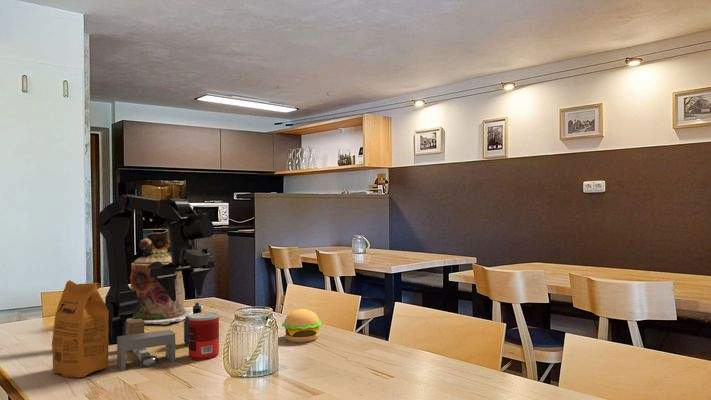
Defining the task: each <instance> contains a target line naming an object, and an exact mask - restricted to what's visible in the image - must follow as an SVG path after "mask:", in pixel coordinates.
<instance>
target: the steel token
mask: <svg viewBox="0 0 711 400" xmlns="http://www.w3.org/2000/svg"><path fill="white" fill-rule="evenodd" d="M157 365H158V356H157V355H152V354H150V356H144V357H141V358H140V360H139V367H140V368H153V367H156V366H157Z"/></svg>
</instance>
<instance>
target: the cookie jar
mask: <svg viewBox="0 0 711 400" xmlns="http://www.w3.org/2000/svg"><path fill="white" fill-rule="evenodd" d="M138 245H139V246H138V247H139V249H141V250H142V251H144V252H143V254H142V256H141V257H138V258H137V259H135V260H134V262H132V263H131V265H130V266H131V268H130V269H131V270H130V271H131V272H130V276H129V282H130V285H129V287H130V288H131V289H132V290H136V292H137V301H138V303H137V308H136V309H135V313H134V316H133V318H130V319H127V320H136V319H142V320H143V321H144V325H164V326H167V325H169V324H170V323H174V322H176V323H177V322H182V321H185V319H186V316H188V315H192V314H193V306H191V307H190V306H189V307H184V304H185V302H186V301H185V300H186V297H185V296H186V294H185V287H184V286H185V284H184V280H183V279H184V278H183V274H182V273H183V271H178V272H175V273H174V274H173V275H177V277H176V279H175V290H176V301H172V300H171V299H170V297H169V296H168V294H167V293H166V291H165V290H164V288H163V287H162V286H161V284H160V283H159V282H158V281H157V280H155V279H154V278H158V277H151V278H150V269H151V267H155V266H161V265H168V264H169V263H172V259H171V252H167V248H170V243H169V234H168V229H166V230H165V231H164V232H151V233H149V234H147V235H146V236H145V238H143V239H141V240H140V242H139V244H138ZM180 267H181V266H179V268H180ZM200 306H201V310H202V309H203V307H204V306H203V305H200Z"/></svg>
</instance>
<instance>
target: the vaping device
mask: <svg viewBox="0 0 711 400" xmlns="http://www.w3.org/2000/svg"><path fill="white" fill-rule="evenodd" d="M201 306H202V305H200V303H199V302H195V304H194V305H193V306H192V307H193V314H196V313H202V309H201ZM189 316H190V315H188V316H186V319H184V320H183V321H184V322H183V342H184V345H186V346H189V327H188V322H189Z"/></svg>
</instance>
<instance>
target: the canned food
mask: <svg viewBox="0 0 711 400" xmlns="http://www.w3.org/2000/svg"><path fill="white" fill-rule="evenodd" d="M188 327H189V345H188V357H189V359H191V360H194V361H195V360H196V361H204V360H211V359H214V358H216V357H218V356H219V352H220V316H219V313H218V312H214V311H213V312H211V311H205V312H203V311H202V312H201V313H196V314H192V315H190V316H189V322H188Z"/></svg>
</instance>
